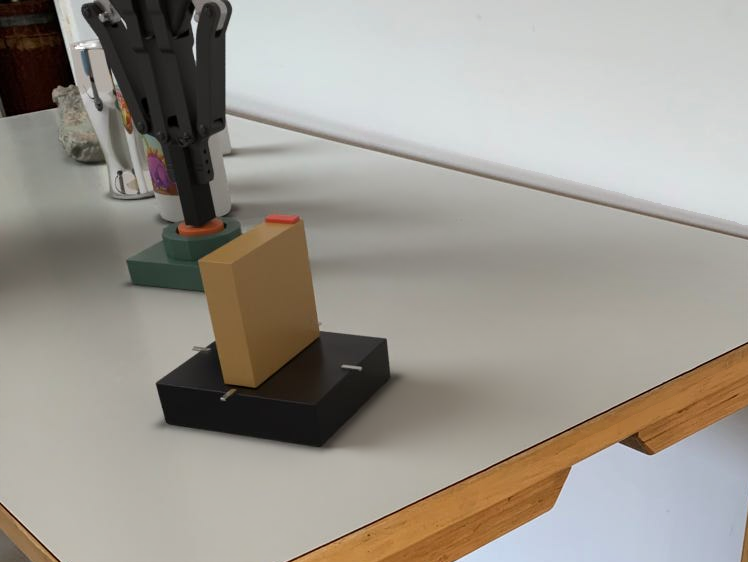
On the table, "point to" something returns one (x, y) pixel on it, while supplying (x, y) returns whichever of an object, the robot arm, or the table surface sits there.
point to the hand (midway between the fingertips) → (200, 221)
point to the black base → (280, 391)
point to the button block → (179, 257)
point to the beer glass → (111, 122)
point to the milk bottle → (168, 190)
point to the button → (201, 228)
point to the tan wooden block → (261, 299)
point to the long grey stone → (76, 126)
